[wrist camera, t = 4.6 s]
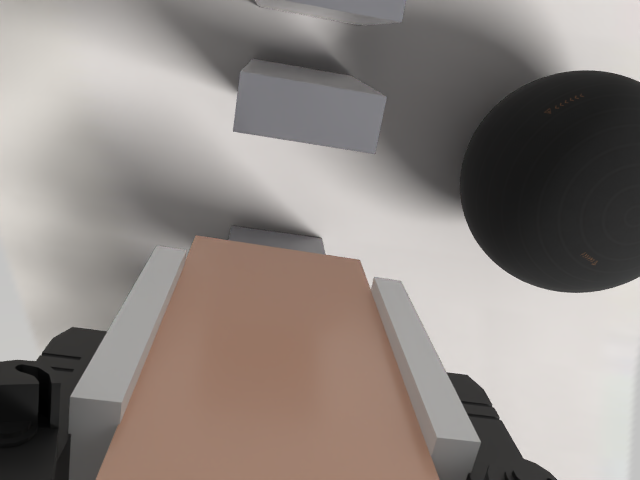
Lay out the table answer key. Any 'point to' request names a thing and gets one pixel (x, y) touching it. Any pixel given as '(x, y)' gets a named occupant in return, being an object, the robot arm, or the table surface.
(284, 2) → the domino
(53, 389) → the robot arm
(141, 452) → the domino
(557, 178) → the black ball
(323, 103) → the domino
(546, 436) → the table surface
